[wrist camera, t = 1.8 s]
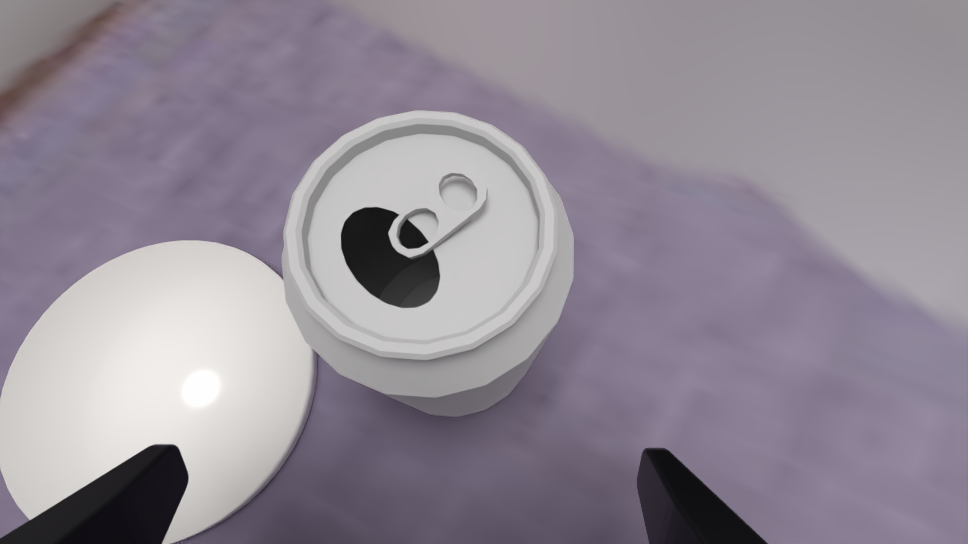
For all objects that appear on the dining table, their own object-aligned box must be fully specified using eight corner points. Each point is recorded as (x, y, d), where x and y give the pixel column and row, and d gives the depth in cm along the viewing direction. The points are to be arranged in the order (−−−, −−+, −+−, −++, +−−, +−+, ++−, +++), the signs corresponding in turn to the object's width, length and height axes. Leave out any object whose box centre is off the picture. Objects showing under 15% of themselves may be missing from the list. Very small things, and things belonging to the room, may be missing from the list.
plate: (131, 628, 18) (111, 638, 17) (-37, 395, 21) (-62, 392, 20) (377, 369, 21) (372, 365, 20) (201, 200, 24) (190, 191, 23)
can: (341, 325, 22) (185, 201, 10) (464, 230, 23) (444, 34, 12) (442, 456, 20) (384, 476, 8) (568, 342, 21) (660, 233, 10)
